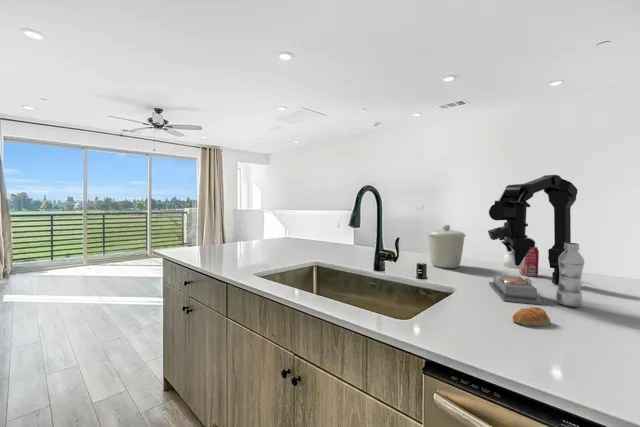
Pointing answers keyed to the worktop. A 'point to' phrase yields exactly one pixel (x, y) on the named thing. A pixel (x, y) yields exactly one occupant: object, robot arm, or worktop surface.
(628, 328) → the worktop surface
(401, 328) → the worktop surface
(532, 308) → the pastry
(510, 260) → the white rounded piece
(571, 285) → the plastic bottle
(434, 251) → the canister
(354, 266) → the worktop surface
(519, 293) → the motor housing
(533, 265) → the soda can
